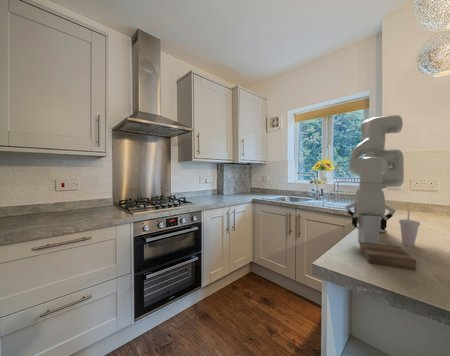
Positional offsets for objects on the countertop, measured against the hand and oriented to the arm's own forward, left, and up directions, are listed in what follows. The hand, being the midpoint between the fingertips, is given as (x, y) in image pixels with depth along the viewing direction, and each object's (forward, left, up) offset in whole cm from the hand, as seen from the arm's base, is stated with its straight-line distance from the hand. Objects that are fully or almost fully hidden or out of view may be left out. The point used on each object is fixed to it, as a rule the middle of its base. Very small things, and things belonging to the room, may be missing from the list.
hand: (368, 228), depth 85 cm
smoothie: (-5, +15, -7) cm, 17 cm away
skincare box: (-1, 0, -7) cm, 7 cm away
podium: (+15, +1, -6) cm, 17 cm away
